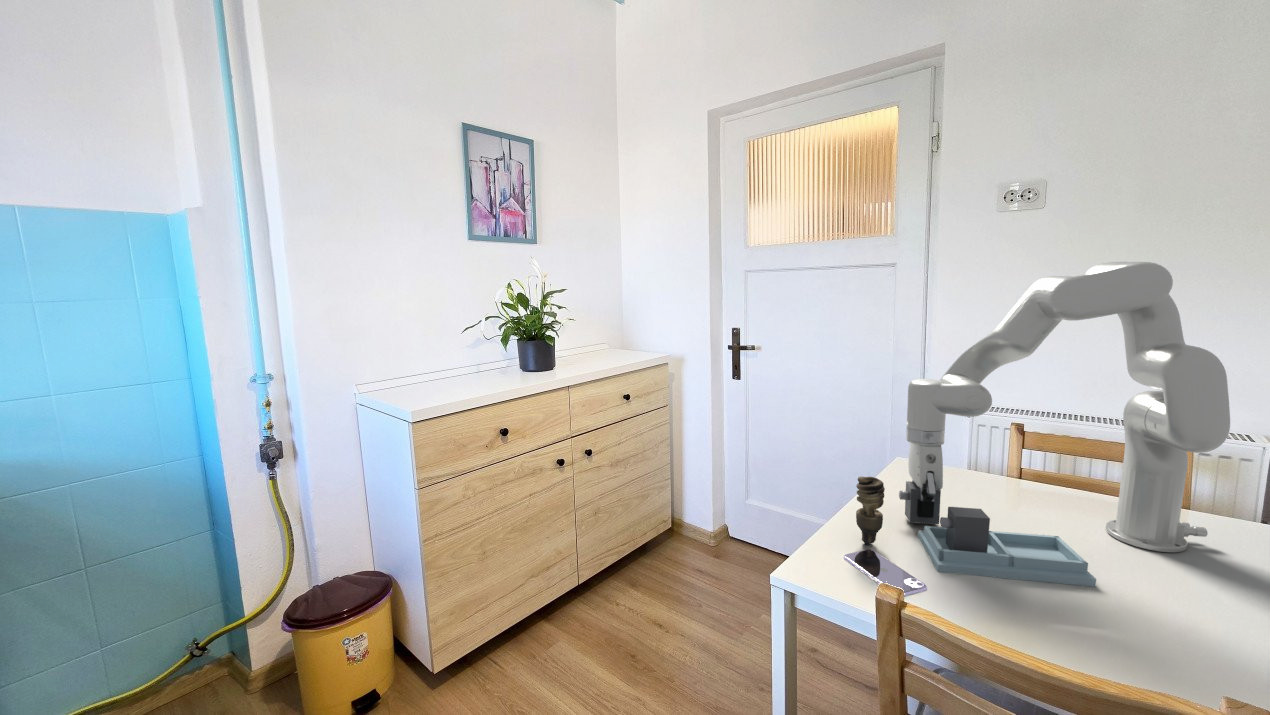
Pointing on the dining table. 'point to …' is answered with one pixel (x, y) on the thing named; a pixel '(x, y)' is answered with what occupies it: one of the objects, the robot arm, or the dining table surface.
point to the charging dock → (1010, 557)
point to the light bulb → (869, 507)
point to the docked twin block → (966, 529)
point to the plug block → (912, 501)
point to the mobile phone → (885, 571)
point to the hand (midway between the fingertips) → (921, 511)
